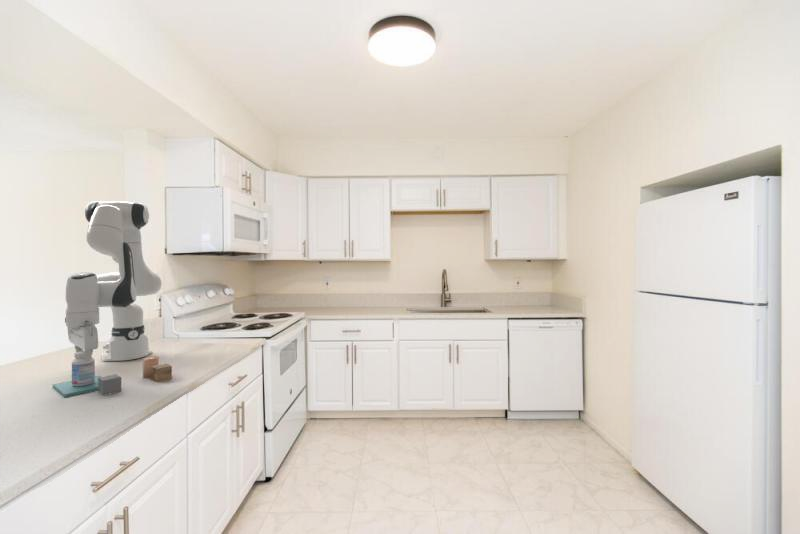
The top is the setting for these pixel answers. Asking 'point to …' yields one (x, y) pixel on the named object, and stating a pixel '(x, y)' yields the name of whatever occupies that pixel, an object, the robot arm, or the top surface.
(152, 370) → the walnut block
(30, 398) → the top surface
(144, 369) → the peach capsule cylinder
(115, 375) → the charcoal block
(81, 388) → the teal board
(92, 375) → the pill bottle
